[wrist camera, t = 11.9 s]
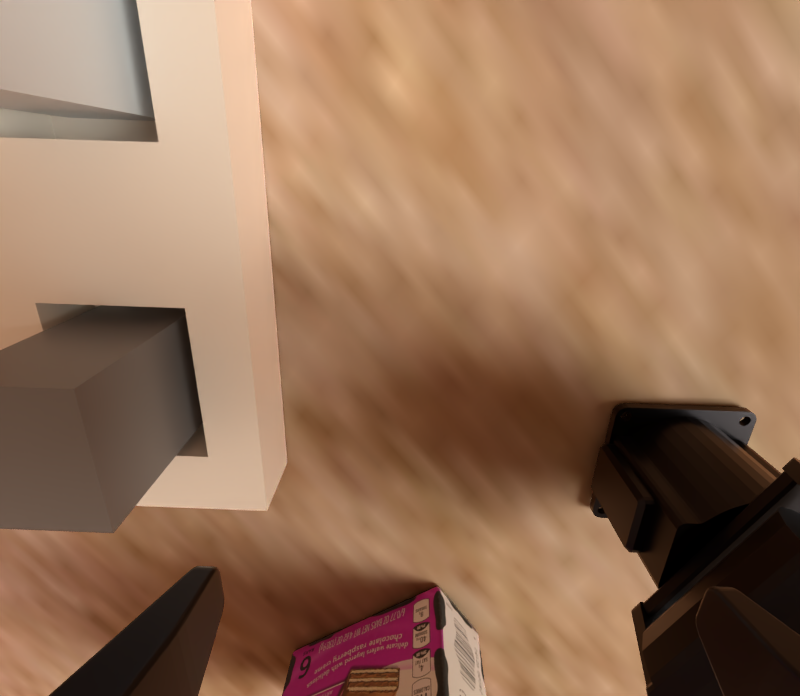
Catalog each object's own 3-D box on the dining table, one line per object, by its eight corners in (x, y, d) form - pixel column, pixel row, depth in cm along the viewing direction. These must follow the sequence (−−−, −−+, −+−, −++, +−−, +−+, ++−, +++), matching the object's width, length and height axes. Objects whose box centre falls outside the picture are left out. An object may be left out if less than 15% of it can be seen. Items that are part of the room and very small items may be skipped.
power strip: (237, -176, 14) (178, -290, 10) (287, 462, 23) (265, 515, 20) (-80, -184, 14) (-243, -300, 11) (93, 455, 23) (37, 506, 20)
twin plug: (202, 303, 19) (74, 388, 12) (216, 405, 21) (113, 533, 14) (110, 300, 19) (-74, 383, 12) (133, 402, 21) (-15, 527, 14)
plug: (153, -47, 15) (-102, -257, 7) (176, 122, 17) (-10, 87, 9) (33, -51, 15) (-339, -265, 8) (70, 117, 17) (-200, 79, 9)
